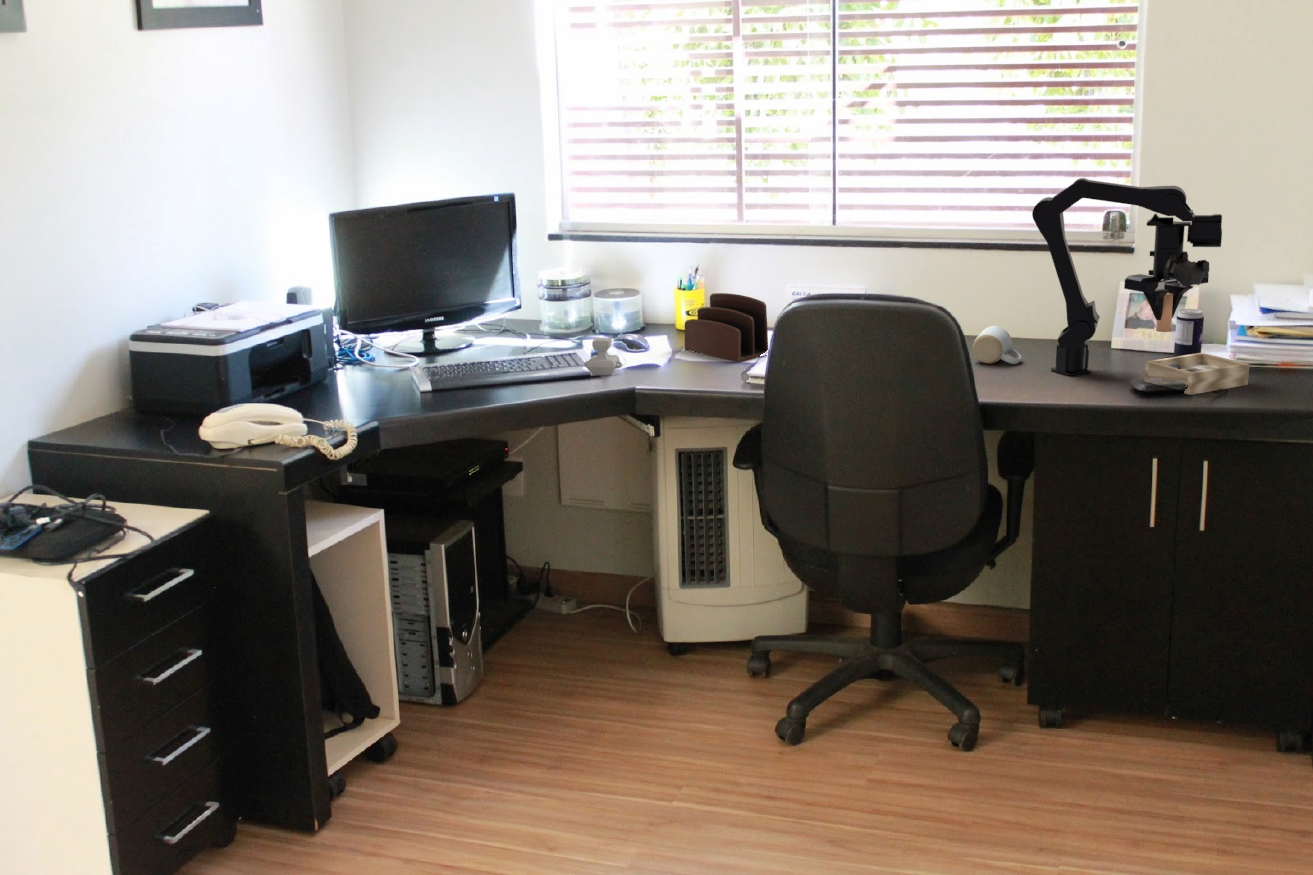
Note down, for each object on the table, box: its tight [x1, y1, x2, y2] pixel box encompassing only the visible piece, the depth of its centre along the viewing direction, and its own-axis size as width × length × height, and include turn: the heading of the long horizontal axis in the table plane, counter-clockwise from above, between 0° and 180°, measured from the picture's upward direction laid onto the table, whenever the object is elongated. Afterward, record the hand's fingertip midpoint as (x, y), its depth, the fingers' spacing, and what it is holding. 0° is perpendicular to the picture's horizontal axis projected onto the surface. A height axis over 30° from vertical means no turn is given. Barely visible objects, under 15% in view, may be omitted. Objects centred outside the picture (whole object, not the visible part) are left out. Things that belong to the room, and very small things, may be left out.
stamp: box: [583, 337, 623, 376], centre depth 306 cm, size 9×7×8 cm
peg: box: [1155, 293, 1173, 333], centre depth 284 cm, size 3×3×8 cm
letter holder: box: [684, 292, 769, 363], centre depth 322 cm, size 10×20×14 cm, turn 41°
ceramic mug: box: [972, 325, 1022, 365], centre depth 305 cm, size 11×8×8 cm
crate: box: [1144, 352, 1251, 396], centre depth 281 cm, size 16×13×4 cm
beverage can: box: [1173, 308, 1205, 357], centre depth 297 cm, size 6×6×12 cm
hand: (1164, 319), depth 284 cm, fingers closed on peg, 3 cm apart
